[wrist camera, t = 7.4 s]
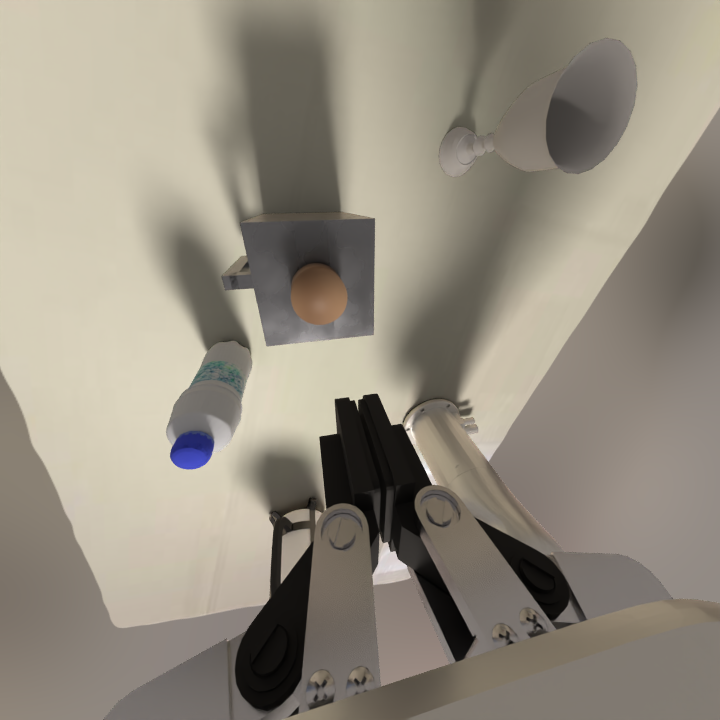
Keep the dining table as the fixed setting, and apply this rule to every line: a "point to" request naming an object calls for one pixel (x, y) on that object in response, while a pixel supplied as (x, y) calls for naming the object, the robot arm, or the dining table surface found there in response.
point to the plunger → (318, 294)
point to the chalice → (558, 117)
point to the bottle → (209, 406)
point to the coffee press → (291, 540)
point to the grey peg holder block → (299, 248)
